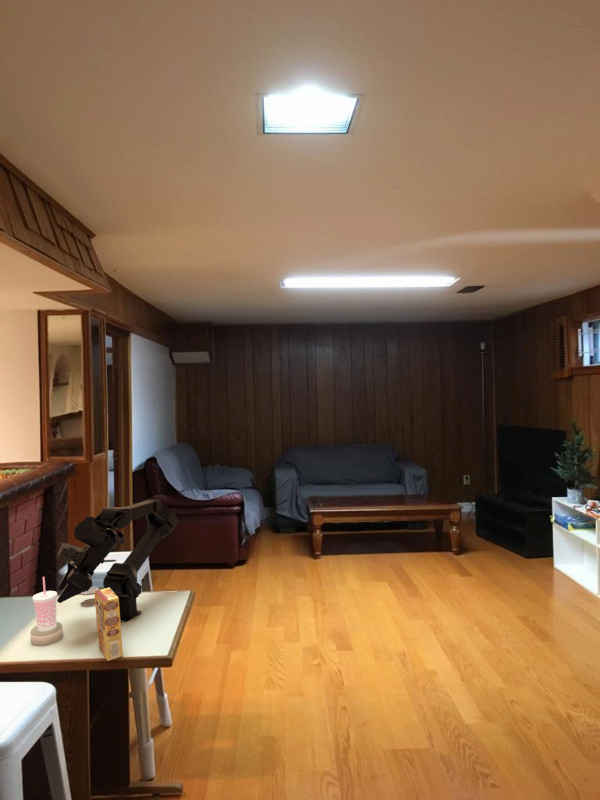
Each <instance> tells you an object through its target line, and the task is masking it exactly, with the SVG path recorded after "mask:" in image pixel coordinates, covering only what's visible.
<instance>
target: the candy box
mask: <svg viewBox="0 0 600 800" xmlns="http://www.w3.org/2000/svg"><path fill="white" fill-rule="evenodd" d="M94 593H95V594H94V598H95V606H94V607H95V616H96V617H95V618H96V630H97V641H98V649H99V651H100V652H101V653H102V655H103V657H104V658H105V660H106V661H107V662H109V661H113V660H115V659H118V658H121V657H123V656H124V652H123V651H124V650H123V639H122V638H123V637H122V625H121V621H120V609H119V598H118V596H117V595H116V594H115V593H114V592H113V591H112V590H111V589H110V588H105V589H104V588H102V589H99V590H97V591H94Z"/></svg>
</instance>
